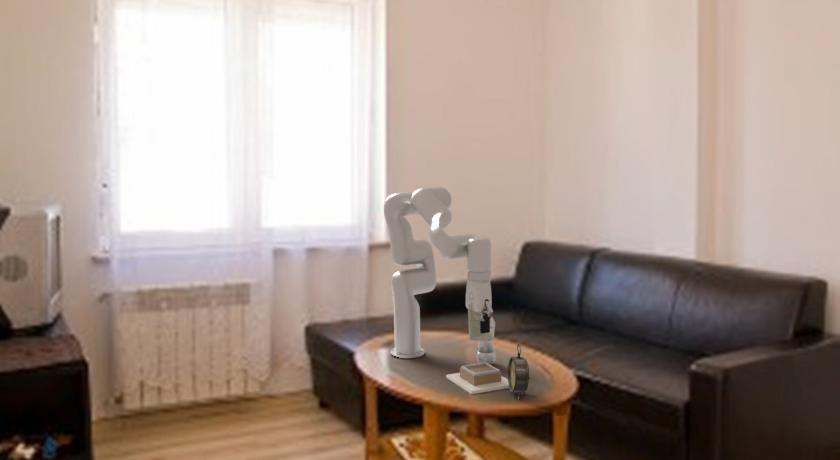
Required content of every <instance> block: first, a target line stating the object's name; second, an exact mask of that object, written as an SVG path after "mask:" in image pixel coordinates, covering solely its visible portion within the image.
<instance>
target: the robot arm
mask: <svg viewBox="0 0 840 460" xmlns="http://www.w3.org/2000/svg"><path fill="white" fill-rule="evenodd" d="M451 205H452V195H451V193H450V191H449V190H448V189H447V188H445V187H442V186H435V187H434V186H431V187H421V188H418V189H417V190H414V191H403V192H395V193H392V194H391V195H388V196H387V198H386V199H385V201H384V204H383V215H384V220H385V222H386V224H387V229H388V235H389V236H388V237H389V244H390V245H389V246H390V253H391V259H392V262H393V264H395V265H396V266H398V267H407V266H415V265H416V267H415V268H406V269H401V270H398V271H396V272H394V273H393V274H392V276H391V278H390V288H391V291H392V292H391V293H392V300H393V327H394V329H393V330H394V331H393V333H394V334H393V335H394V337H393V338H394V342H393V343H394V348H391V350H390V355H391V354H392V355H393V356H392V355H391V356H392V357H394V356H396V357H395V358H397V357H399V358H398V359H415V358H420V357H423V355H425V349H424V348H422V347H421V311H420V304H419V302H418V300H417V299H416V298H415V295H420V294H426V293H430V292H432V291H434V289H435V288H436V286H437V274H436V273H437V272H436V264H435V254H434V249H435V250H436V251H437V252H438V253H439V254H440V255H441V256H442V257H443V258H445V259H446V260H457V259H466V258H467V279H466V280H467V282H466V287H465V307H466V309H468V303H471V304H472V311H474V312H476V313H480V316H481V320H482V321H480V333H489V332H490V320H491V317H492V316H493V313H494V310H493V308H492V306H493V305H492V301H493V300H492V299H493V297H492V285H491V281H492V242H491V239H489V238H487V237H483V236H481V237H480V236H477V235H476V234H469V233H468V234H460V235H459V234H458V235H450V236H449V234H447V233H446V232H445V231H444V230H445V229H446V228H447V227H448V226H449V224H451V221H452V219H453V214H452V212H451V211H450V209H449V208H450V206H451ZM417 215H420V216H421V217H422V219H424V220H425V222H426V223H427V224H428V226H430V227H429V239H430V241H431V243H430V241H429V240H427V238H426V239H425V238H422V237H418V238H414V235H413V228H412V225H411V223H410V222H409V220H408V219H407V218H406V217H405V216H417ZM433 248H434V249H433ZM485 307H486V309H487V311H483V310H484V309H485ZM485 313H487V314H485ZM483 314H485V316H484V315H483Z"/></svg>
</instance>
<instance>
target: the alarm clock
mask: <svg viewBox="0 0 840 460" xmlns="http://www.w3.org/2000/svg"><path fill="white" fill-rule="evenodd" d="M516 349H517V356H511V357H510V359H509V361H508V367H507V379H508V384H509V388H508V390H509V392H510V393H512V394H516V395H517V398H518V397H519V398H520V394H525V395H527V393H526V391H527V390H528V388H529V384H530V383H529V382H530V369H529V368H530V367H529V363H528V360H527V359H526V358H525V357H524V356H521V354H522V348H521V344H519V343H517V347H516Z"/></svg>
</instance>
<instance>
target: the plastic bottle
mask: <svg viewBox="0 0 840 460" xmlns="http://www.w3.org/2000/svg"><path fill="white" fill-rule="evenodd" d="M495 330H496V322H495V320H494V318H493V316H491V320H490V338H489V340H488V341H478V344H477V352H476V361H477V364H478V363H484V362H486V363H488V364H490V365H492V366H493V365H494V364H495V363H496V357H497V356H496V355H497V354H496V351H495V342H494V341H495V340H494V339H495Z"/></svg>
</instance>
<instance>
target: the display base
mask: <svg viewBox="0 0 840 460" xmlns="http://www.w3.org/2000/svg"><path fill="white" fill-rule="evenodd" d="M445 378H446V379H447V380H449V381H451V382H452V383H454V384H455V385H457V386H458V387H459V388H461V389H463V390H464V391H465V392H468V393H469V394H470V395H475V394H476V395H477V394H480V393H481V394H482V393H486V392H492V391H493V392H494V391H499V390H505V389H506V390H507V389H509V384H508V378H506V377H505V376H503V375H502V372H501V370H500V369H499V368H497V367H494V365H493V364H492V365H490V364H488V363H486V362H484V363H478V362H477V363H471V364H467V365H465V364H464V365H461V367H460V368H459V372H456V373H449V374H445Z"/></svg>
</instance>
